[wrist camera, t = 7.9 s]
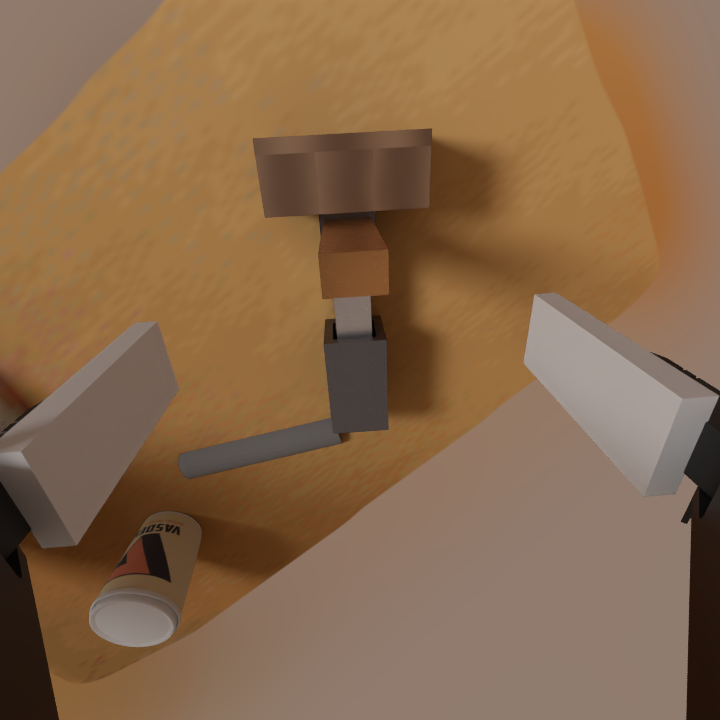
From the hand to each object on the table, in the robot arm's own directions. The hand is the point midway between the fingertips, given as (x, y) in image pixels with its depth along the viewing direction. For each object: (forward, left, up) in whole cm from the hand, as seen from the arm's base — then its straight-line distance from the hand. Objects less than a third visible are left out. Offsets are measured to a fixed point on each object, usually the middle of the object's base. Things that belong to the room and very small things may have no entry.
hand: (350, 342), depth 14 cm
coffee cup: (-25, -38, -25) cm, 52 cm away
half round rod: (-11, -25, -25) cm, 37 cm away
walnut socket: (+1, +5, -25) cm, 25 cm away
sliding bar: (+1, -5, -24) cm, 24 cm away
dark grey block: (+1, -14, -25) cm, 28 cm away
